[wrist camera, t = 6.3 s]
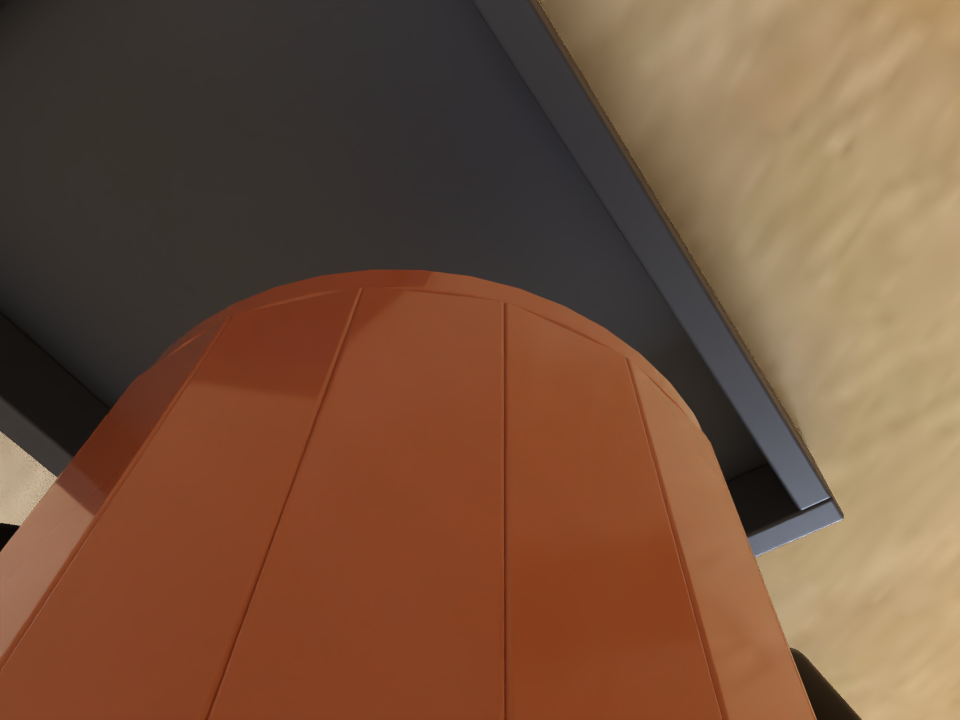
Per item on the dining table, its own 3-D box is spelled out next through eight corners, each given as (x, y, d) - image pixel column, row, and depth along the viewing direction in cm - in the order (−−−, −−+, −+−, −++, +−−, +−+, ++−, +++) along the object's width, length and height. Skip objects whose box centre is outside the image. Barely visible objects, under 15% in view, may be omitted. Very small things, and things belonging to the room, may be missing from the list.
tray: (810, 452, 20) (846, 520, 18) (374, 654, 25) (362, 726, 23) (311, -374, 12) (271, -428, 10) (-198, 151, 17) (-299, 190, 15)
